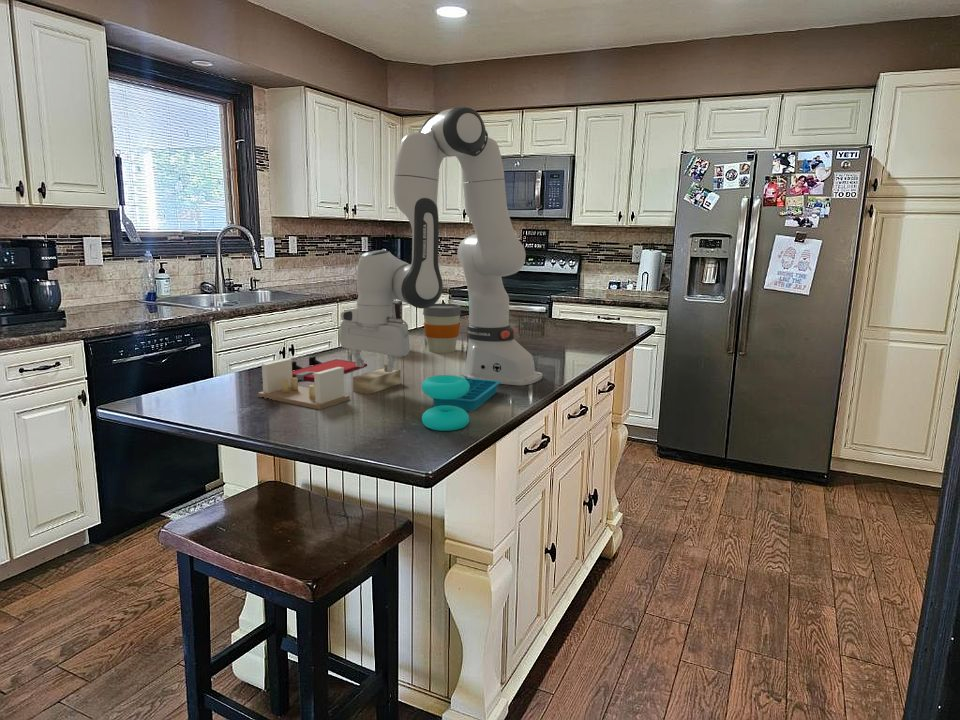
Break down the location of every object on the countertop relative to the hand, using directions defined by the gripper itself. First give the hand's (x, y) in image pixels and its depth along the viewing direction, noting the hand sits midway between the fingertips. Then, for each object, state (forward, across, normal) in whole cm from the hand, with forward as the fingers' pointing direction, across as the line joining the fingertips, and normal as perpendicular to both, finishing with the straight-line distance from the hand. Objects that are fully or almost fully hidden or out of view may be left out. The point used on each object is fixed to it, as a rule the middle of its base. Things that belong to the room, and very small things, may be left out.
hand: (373, 369), depth 164 cm
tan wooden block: (+5, -1, -1) cm, 5 cm away
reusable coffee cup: (+4, +12, -51) cm, 52 cm away
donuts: (+5, -33, +16) cm, 37 cm away
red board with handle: (+6, +24, -3) cm, 25 cm away
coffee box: (+4, +26, -42) cm, 50 cm away
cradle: (+5, +7, +17) cm, 19 cm away
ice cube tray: (+5, -26, -4) cm, 26 cm away
